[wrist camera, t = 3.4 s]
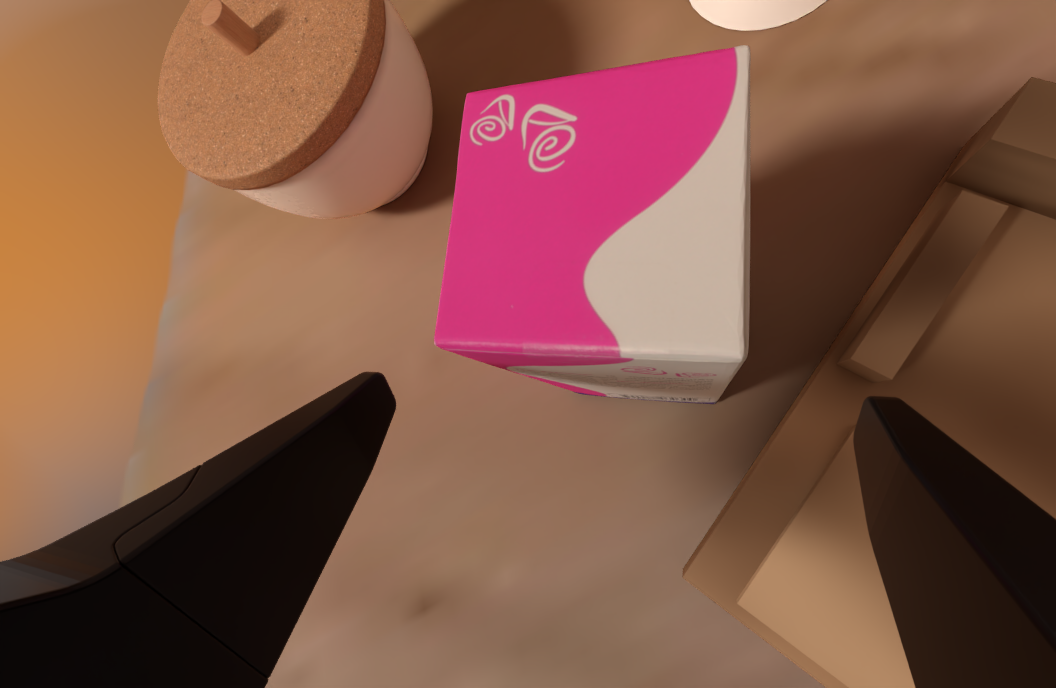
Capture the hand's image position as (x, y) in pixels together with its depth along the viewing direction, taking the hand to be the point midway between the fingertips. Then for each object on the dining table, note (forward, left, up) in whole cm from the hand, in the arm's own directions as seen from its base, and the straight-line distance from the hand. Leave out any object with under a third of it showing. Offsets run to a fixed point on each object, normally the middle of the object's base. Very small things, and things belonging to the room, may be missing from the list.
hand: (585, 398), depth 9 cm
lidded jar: (+4, +19, -11) cm, 22 cm away
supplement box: (+3, +2, -11) cm, 11 cm away
